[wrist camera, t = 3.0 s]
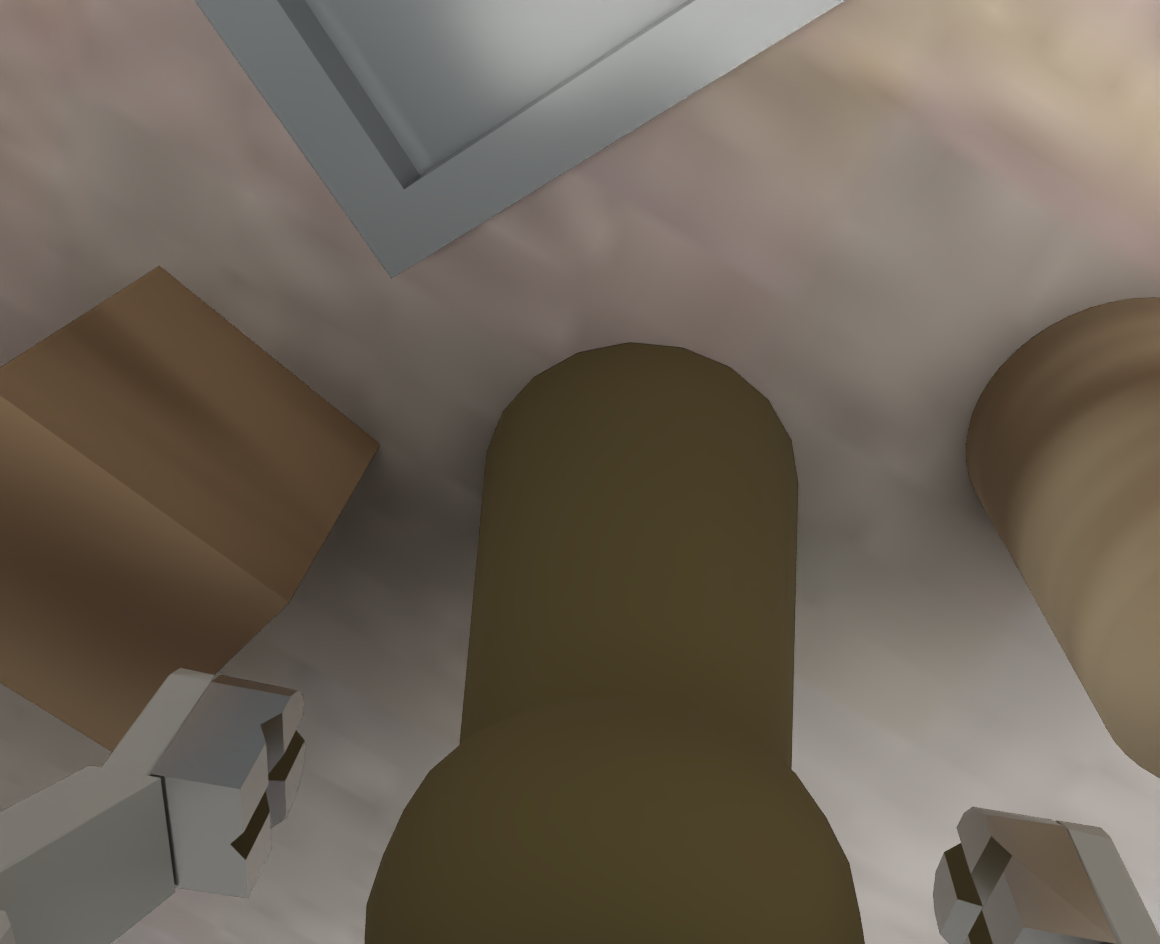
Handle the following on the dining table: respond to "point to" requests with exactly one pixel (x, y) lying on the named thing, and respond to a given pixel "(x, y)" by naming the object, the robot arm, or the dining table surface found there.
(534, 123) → the slate dish
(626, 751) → the olive hourglass shape
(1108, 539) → the cork cylinder
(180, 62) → the dining table surface
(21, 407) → the walnut block
